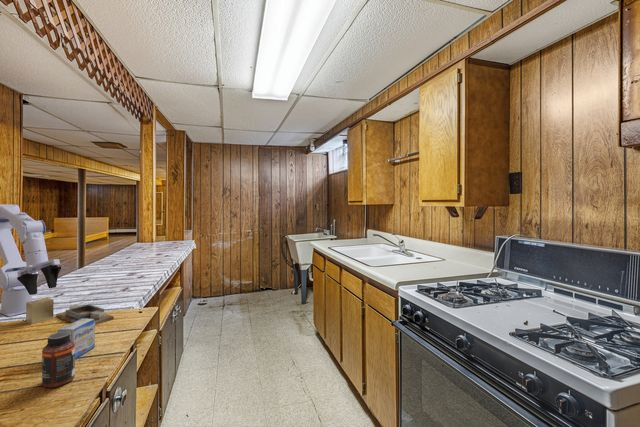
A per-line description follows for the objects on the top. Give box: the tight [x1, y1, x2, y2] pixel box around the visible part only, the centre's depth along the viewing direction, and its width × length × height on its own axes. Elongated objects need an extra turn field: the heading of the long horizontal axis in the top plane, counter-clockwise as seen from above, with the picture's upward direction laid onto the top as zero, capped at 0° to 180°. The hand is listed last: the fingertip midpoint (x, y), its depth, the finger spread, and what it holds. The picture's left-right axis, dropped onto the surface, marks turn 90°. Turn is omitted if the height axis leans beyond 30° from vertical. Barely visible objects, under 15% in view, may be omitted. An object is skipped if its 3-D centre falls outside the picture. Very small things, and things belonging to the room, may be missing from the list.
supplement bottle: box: [41, 332, 76, 389], centre depth 72 cm, size 6×6×11 cm
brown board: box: [55, 303, 115, 326], centre depth 110 cm, size 19×9×3 cm, turn 64°
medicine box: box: [57, 319, 96, 360], centre depth 85 cm, size 8×4×9 cm, turn 179°
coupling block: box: [25, 297, 54, 326], centre depth 106 cm, size 4×6×7 cm, turn 154°
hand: (43, 291), depth 105 cm, fingers open, 7 cm apart
